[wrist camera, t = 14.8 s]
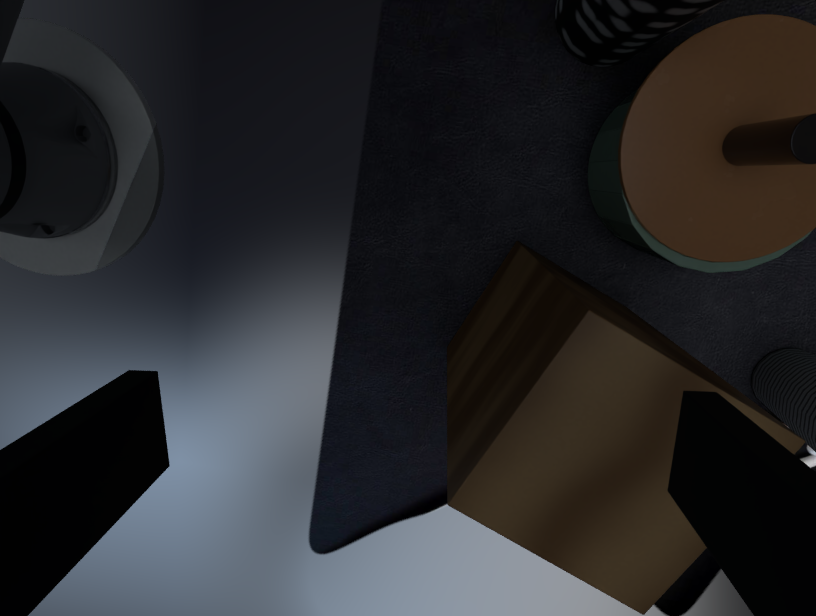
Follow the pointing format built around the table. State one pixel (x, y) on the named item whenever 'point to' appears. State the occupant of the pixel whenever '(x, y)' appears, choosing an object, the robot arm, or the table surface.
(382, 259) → the table surface
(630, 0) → the spotted tube
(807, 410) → the cup
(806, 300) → the table surface
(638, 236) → the pot
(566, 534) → the stand
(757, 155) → the lid
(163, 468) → the robot arm
